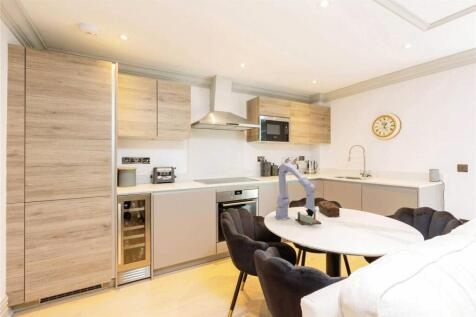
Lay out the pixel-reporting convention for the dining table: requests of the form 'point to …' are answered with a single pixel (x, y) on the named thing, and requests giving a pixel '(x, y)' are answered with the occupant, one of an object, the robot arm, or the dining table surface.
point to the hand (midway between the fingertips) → (310, 219)
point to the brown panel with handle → (306, 222)
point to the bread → (329, 209)
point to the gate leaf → (306, 218)
